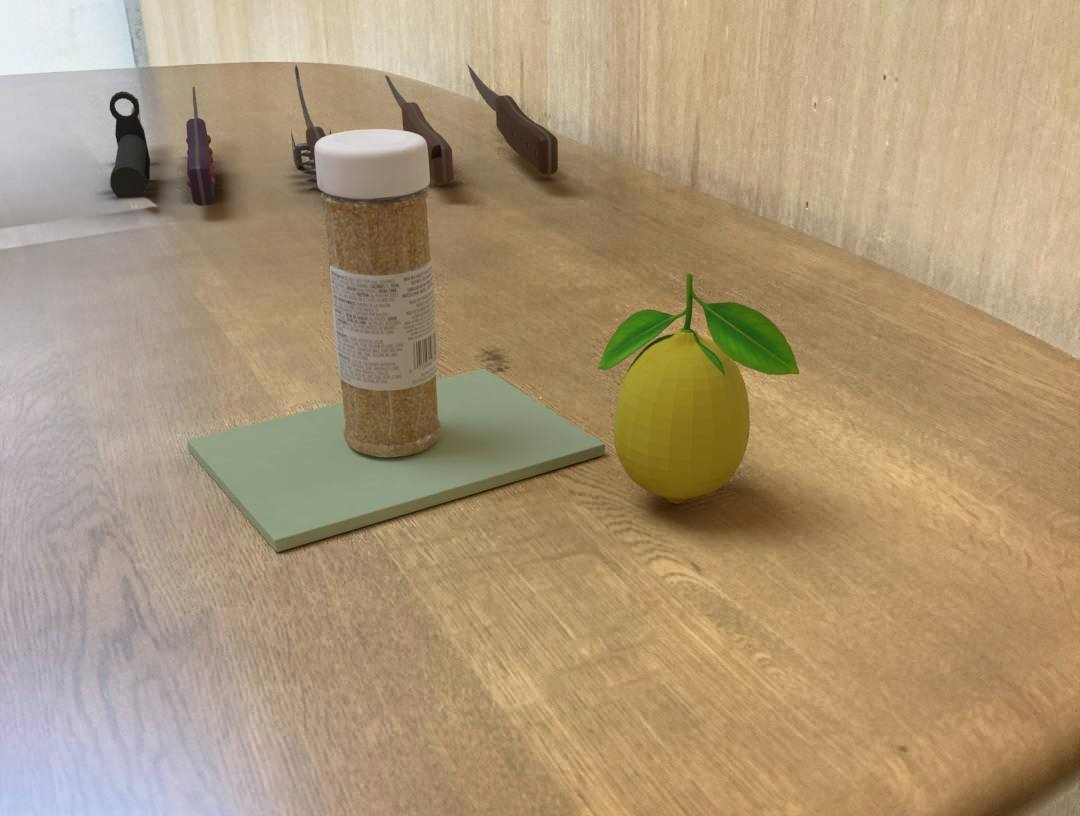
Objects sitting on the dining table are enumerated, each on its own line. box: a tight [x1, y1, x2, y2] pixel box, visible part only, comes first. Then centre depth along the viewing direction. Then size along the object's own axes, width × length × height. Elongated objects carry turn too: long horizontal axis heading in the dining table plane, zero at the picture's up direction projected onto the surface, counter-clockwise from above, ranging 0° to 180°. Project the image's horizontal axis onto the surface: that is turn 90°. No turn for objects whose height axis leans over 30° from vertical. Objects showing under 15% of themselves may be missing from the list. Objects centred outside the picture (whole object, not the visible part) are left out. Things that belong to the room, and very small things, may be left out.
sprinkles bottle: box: [314, 128, 441, 457], centre depth 49 cm, size 5×5×13 cm
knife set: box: [109, 63, 559, 207], centre depth 101 cm, size 35×33×8 cm
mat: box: [186, 368, 606, 553], centre depth 53 cm, size 16×11×1 cm
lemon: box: [597, 273, 800, 505], centre depth 46 cm, size 7×6×10 cm
